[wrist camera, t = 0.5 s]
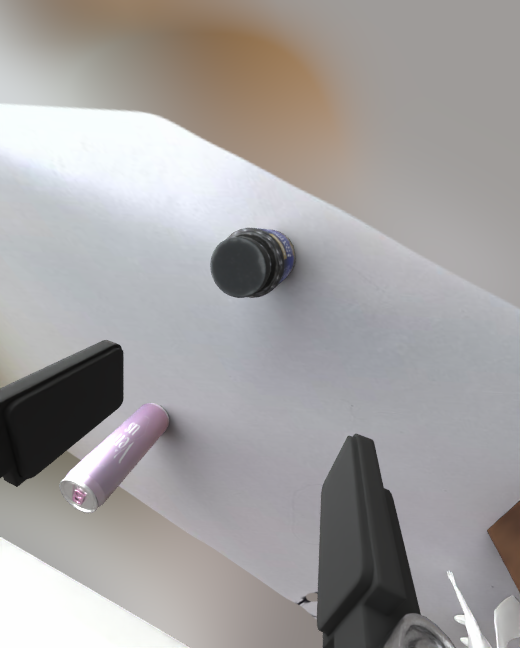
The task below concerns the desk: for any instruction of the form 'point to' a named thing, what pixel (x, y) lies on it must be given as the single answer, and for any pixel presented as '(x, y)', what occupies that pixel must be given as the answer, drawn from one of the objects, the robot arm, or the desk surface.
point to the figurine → (507, 620)
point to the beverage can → (113, 459)
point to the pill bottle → (252, 262)
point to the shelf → (508, 541)
